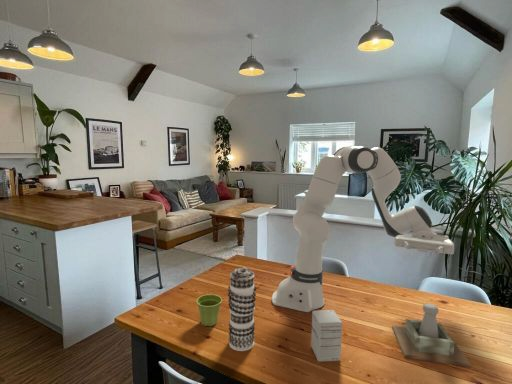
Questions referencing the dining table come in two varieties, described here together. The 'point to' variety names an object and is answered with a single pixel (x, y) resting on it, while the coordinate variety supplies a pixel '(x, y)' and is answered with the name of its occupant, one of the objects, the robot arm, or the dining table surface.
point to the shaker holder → (428, 345)
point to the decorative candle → (241, 309)
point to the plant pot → (209, 309)
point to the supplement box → (326, 335)
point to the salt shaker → (429, 321)
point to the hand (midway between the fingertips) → (422, 249)
